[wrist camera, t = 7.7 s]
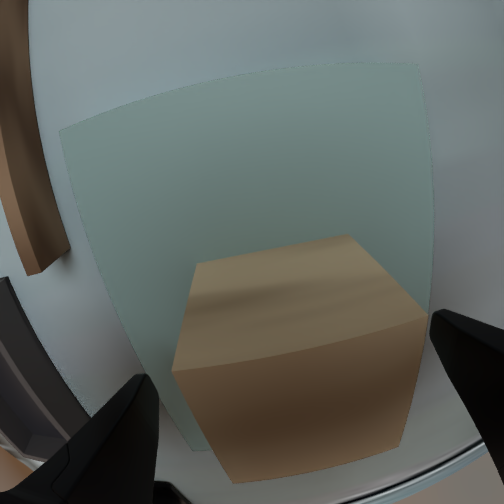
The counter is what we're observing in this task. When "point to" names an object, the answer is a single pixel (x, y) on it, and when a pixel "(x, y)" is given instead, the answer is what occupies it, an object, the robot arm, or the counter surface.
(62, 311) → the counter surface
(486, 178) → the counter surface
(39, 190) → the cubby
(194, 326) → the beech cube
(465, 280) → the counter surface
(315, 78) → the platform
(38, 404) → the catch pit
